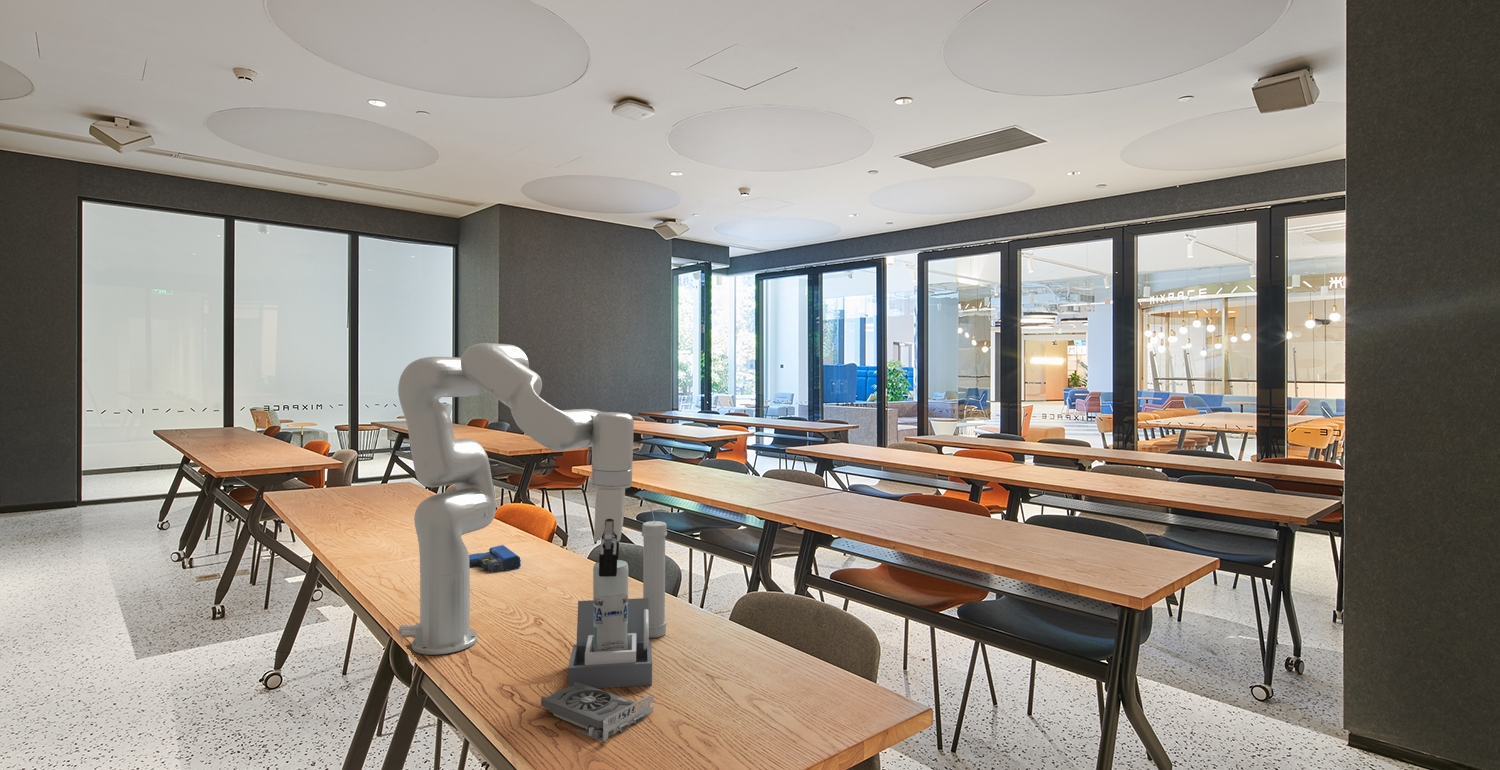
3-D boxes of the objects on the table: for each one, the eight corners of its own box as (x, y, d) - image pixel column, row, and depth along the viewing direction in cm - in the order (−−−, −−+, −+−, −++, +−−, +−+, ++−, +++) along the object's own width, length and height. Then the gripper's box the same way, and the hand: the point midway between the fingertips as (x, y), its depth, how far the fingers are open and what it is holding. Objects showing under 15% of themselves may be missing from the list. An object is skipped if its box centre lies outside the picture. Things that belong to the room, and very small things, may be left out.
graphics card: (658, 695, 119) (606, 722, 109) (658, 717, 119) (606, 746, 109) (588, 671, 128) (534, 694, 118) (588, 692, 128) (534, 717, 118)
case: (567, 690, 127) (567, 628, 127) (575, 654, 143) (575, 599, 142) (651, 684, 129) (652, 624, 129) (650, 650, 145) (650, 596, 145)
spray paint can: (590, 664, 135) (591, 561, 135) (624, 660, 138) (625, 558, 137) (595, 678, 129) (595, 570, 129) (630, 673, 131) (631, 567, 131)
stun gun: (467, 567, 196) (521, 554, 204) (454, 554, 208) (505, 543, 217) (468, 581, 196) (522, 568, 205) (455, 568, 209) (506, 556, 217)
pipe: (661, 639, 151) (662, 499, 150) (634, 637, 152) (634, 498, 152) (669, 630, 156) (670, 495, 156) (643, 628, 158) (643, 494, 157)
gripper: (594, 470, 141) (591, 555, 141) (588, 486, 124) (585, 582, 124) (632, 471, 142) (629, 555, 142) (631, 486, 125) (628, 582, 125)
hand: (608, 568), depth 133 cm, fingers open, 9 cm apart
